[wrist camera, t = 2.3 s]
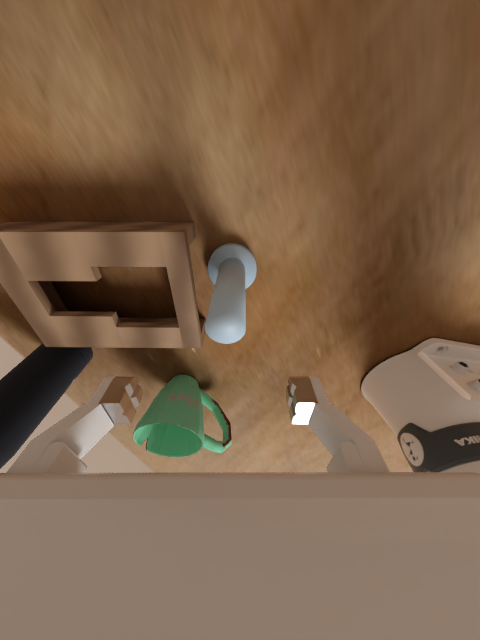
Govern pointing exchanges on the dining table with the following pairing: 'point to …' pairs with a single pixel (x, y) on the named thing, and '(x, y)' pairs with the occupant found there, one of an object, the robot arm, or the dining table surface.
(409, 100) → the dining table surface
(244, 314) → the peg
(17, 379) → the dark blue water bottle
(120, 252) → the keyhole board
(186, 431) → the mug
